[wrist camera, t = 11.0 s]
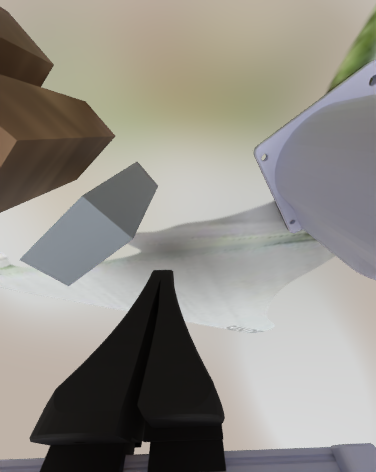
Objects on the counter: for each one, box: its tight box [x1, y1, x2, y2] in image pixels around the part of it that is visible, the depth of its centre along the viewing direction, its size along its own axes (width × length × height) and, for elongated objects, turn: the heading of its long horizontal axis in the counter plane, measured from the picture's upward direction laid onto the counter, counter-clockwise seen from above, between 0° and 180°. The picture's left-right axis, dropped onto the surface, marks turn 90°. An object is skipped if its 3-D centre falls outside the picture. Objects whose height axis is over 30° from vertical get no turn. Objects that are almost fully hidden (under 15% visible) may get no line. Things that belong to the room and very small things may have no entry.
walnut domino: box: [0, 74, 115, 213], centre depth 8 cm, size 2×5×8 cm, turn 127°
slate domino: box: [20, 162, 158, 286], centre depth 10 cm, size 2×5×8 cm, turn 127°
